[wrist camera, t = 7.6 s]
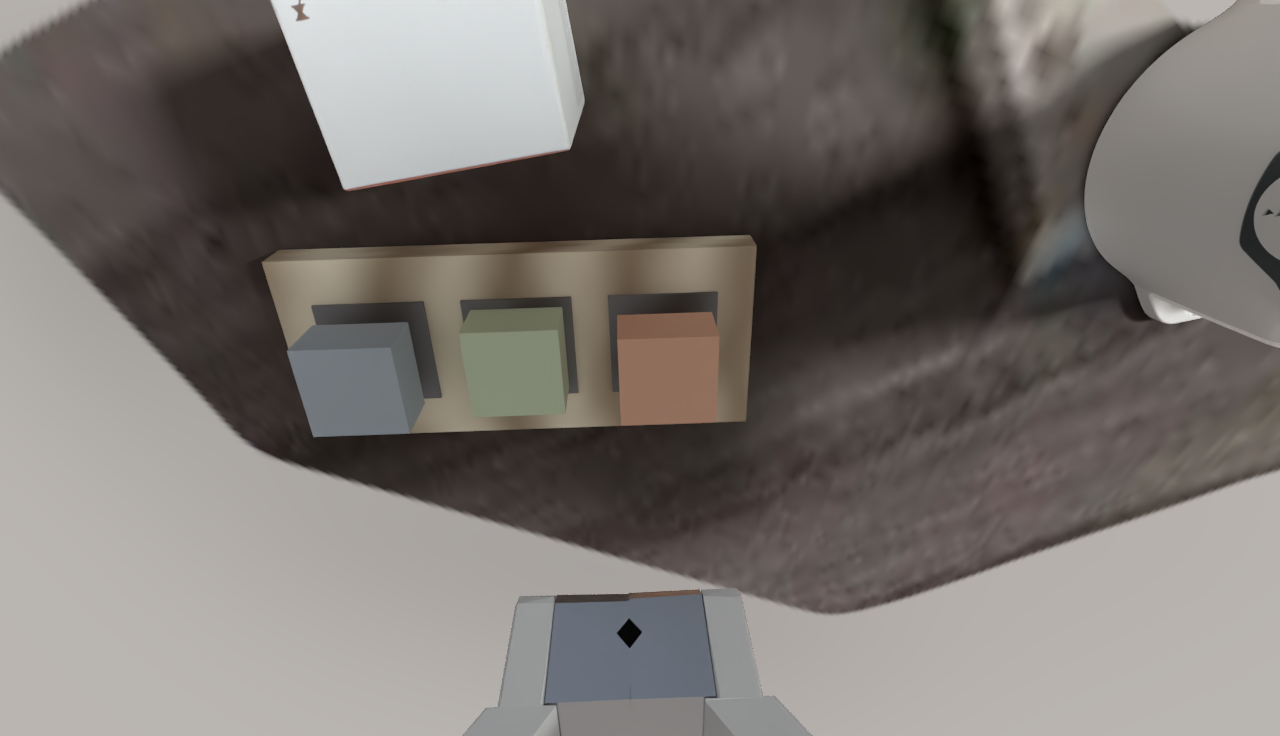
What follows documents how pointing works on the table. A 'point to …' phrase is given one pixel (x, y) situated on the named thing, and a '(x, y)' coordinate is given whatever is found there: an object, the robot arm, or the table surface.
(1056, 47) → the table surface
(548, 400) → the sage button
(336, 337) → the slate button
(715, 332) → the terracotta button
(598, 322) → the button board
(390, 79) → the small box
